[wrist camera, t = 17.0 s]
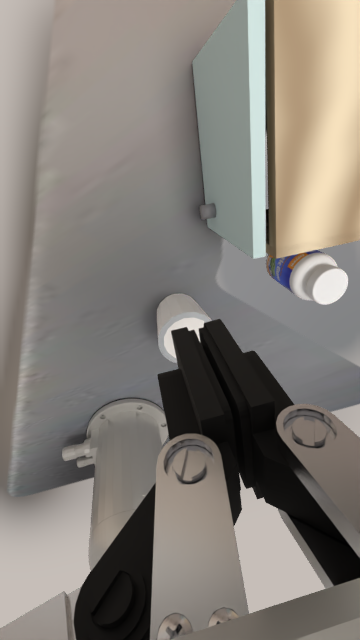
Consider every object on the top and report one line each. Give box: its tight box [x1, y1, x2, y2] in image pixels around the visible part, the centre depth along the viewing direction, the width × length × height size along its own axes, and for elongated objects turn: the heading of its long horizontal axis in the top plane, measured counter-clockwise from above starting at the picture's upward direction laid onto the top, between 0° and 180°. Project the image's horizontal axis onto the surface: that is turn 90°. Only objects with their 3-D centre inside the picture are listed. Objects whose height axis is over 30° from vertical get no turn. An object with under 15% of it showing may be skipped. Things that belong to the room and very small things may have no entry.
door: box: [192, 0, 266, 259], centre depth 25 cm, size 2×15×14 cm, turn 8°
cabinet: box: [265, 0, 360, 259], centre depth 26 cm, size 14×16×14 cm
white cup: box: [157, 293, 212, 363], centre depth 37 cm, size 7×7×7 cm
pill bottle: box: [266, 250, 348, 305], centre depth 35 cm, size 5×5×10 cm
